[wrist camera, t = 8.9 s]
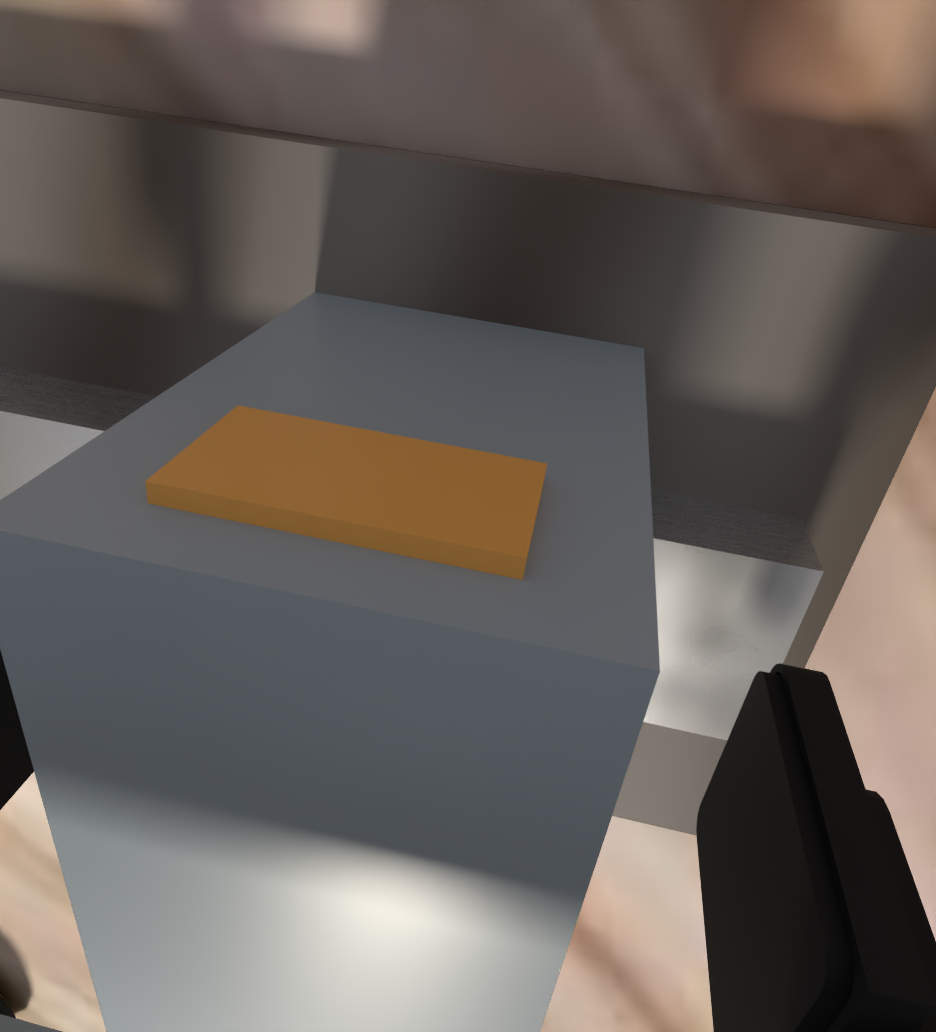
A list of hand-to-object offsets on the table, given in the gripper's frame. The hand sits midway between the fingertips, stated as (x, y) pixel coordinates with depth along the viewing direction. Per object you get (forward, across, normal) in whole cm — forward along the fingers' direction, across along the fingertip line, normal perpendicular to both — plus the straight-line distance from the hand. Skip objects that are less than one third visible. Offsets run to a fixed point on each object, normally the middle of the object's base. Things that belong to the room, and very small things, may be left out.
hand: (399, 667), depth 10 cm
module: (+3, 0, 0) cm, 3 cm away
